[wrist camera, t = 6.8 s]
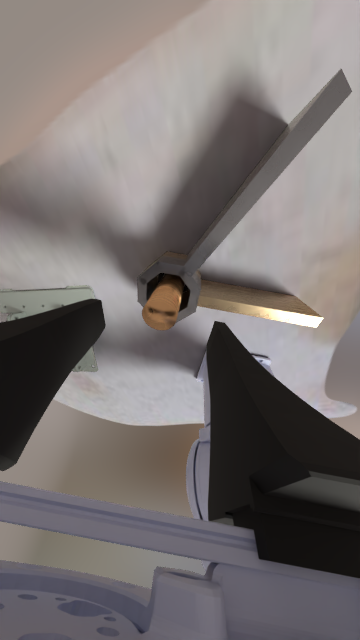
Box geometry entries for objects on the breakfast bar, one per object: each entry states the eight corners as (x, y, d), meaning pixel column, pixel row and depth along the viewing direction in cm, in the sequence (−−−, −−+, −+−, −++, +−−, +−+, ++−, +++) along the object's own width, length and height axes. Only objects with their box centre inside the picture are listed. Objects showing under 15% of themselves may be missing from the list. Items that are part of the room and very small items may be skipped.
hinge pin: (187, 269, 16) (179, 304, 10) (183, 290, 18) (174, 332, 11) (165, 265, 16) (142, 297, 10) (163, 286, 18) (141, 326, 11)
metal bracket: (103, 385, 21) (12, 381, 23) (123, 362, 26) (48, 360, 28) (77, 277, 16) (-32, 284, 18) (108, 276, 22) (21, 281, 24)
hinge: (393, 142, 10) (507, 97, 6) (280, 320, 18) (300, 345, 15) (157, 101, 10) (133, 31, 6) (150, 296, 18) (137, 315, 15)
